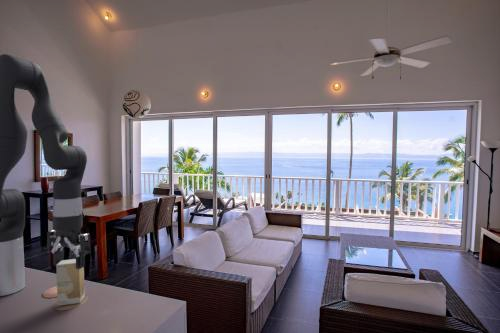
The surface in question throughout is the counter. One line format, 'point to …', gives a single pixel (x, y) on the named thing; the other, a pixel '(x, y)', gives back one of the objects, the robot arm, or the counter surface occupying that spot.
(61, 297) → the skincare box
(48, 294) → the peach glossy dome
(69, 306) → the walnut coaster
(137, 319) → the counter surface
